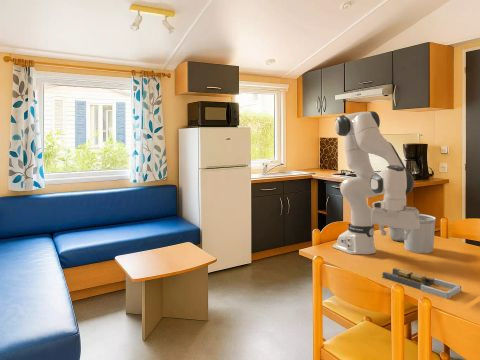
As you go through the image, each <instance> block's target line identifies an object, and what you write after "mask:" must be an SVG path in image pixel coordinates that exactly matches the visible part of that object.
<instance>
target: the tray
mask: <svg viewBox="0 0 480 360" xmlns="http://www.w3.org/2000/svg"><path fill="white" fill-rule="evenodd" d="M433 279H434V284H433V285H436V286H439V287H442V288H446V289H449V290H446V291H444V290H441V289H437V288H435V287H431V286H429V287H428V286H425V285H421V290H420V291H421V292H425V293H427V294H430V295H434V296H437V297H441V298H444V299H447V300H449V299H450V298H452V297H453V296H455V295H457V294H459V293H460V292H462V285H459V284H456V283H453V282H449V281H445V280H442V279H440V278H433Z"/></svg>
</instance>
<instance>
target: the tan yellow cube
mask: <svg viewBox="0 0 480 360" xmlns="http://www.w3.org/2000/svg"><path fill="white" fill-rule="evenodd" d="M413 273H414V272H413V271H411V270H407V269H400V271H398V276H400V277H404V278H407V279H410V280H411V275H412V274H413Z"/></svg>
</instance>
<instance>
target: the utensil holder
mask: <svg viewBox="0 0 480 360" xmlns="http://www.w3.org/2000/svg"><path fill="white" fill-rule="evenodd" d="M436 219H437V218H436V217H435V216H433V215H429V214H423V213H419V222H420V228H419V229H418V230H416V231H412V230H411V232H410V233H409V235H408V239H407V240H404V241H403V242H404V244H403V245H404V249H405V250H406V251H408V252H412V253H416V254H431V253H432V252H433V251H434V244H435V242H434V241H435V229H436V228H435V226H436ZM405 233H406V232H405V231H404V235H405Z"/></svg>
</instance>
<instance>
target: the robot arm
mask: <svg viewBox="0 0 480 360" xmlns="http://www.w3.org/2000/svg"><path fill="white" fill-rule="evenodd" d="M380 124H381V119H380V116H379V114H378V112H376V111H374V110H373V111H372V110H371V111H370V110H369V111H359V112H353V113H348V114H342V115H339V116H337V117H336V118H335V121H334V130H335V132H336V134H337V135H338V136H340V137H344V151H345V156H346V164H347V167H348V169H350V170H351V171H353V172H354V174H355V177H349V178H347V179H344V180H343V181H342V182H341V183H340V187H339V190H340V193H341V195H342V196H343V198H344V199H346V201H347V202H348V205H349V207H350V208H349V209H350V223H348V224H347V225H346V227H347V229H346V230H345V231H344V232H342V233H341V234H339V236H338V237H337V241H336V243H334V244H333V245H332V248H334V249H337V250H338V251H341V252H345V253H347V254H349V255H372V254H375V253H377V250H376V246H375V240H374V239H375V238H374V234H375V225H378V228H379V231H380V235H381V236H384V237H385V236H387V230H385V227H388V228H389V227H395V228H401V229H405V232H406V233H405V235H402V239H403V240H407V239H408V235H409V233H410V232H411V230H412V231H416V230H418V229H419V228H420V222H419V214H420V211H419V209H417V207H415V206H414V207H412V206H407V194H409V193H411V191H412V189H413V188H414V187H415V180H414V179H415V178H414V177H413V175H412V173H410V171H409V170H408V169H407V168H406V165H405V164H404V162H403V160H402V158H401V157H400V155H399V153H398V152H397V150H396V148H395V147H394V145H393V144H392V143H391V142H390V141H388V140H387V139H386V138H385V137H384V136H383V135H382V133H381V131H380V126H381V125H380ZM369 154H370V155H375V156H377V157H381V158H382V159H384V160H385V161H386V162H387V164H388V165H387V166H385V167H384V169H382V171H379V172H375V170H374V168H373V166H372V164H371V163H372V162H371V160H370V155H369ZM379 195H383V199H381V200H378V201H375V202H372V207H371V206H370V205H369V204H368V201H367V198H375V197H376V196H379Z"/></svg>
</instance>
